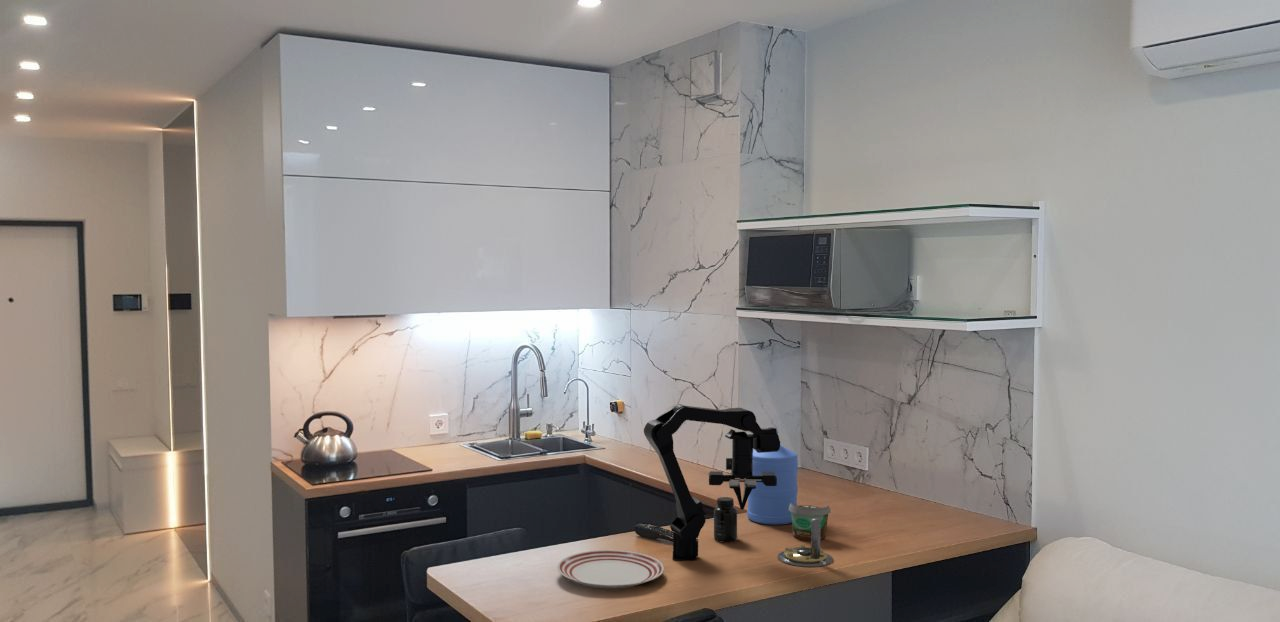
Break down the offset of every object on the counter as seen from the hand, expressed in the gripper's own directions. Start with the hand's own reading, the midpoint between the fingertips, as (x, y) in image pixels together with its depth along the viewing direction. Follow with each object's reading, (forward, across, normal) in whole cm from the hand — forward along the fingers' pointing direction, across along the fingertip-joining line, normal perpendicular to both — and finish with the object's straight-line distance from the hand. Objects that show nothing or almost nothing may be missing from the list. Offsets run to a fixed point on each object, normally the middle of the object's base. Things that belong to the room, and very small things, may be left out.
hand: (742, 509), depth 274 cm
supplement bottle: (+12, +4, -12) cm, 18 cm away
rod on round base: (+12, -17, +6) cm, 22 cm away
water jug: (+12, -12, -36) cm, 40 cm away
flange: (+12, -17, +6) cm, 22 cm away
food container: (+12, -20, -13) cm, 27 cm away
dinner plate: (+12, +35, +24) cm, 44 cm away
